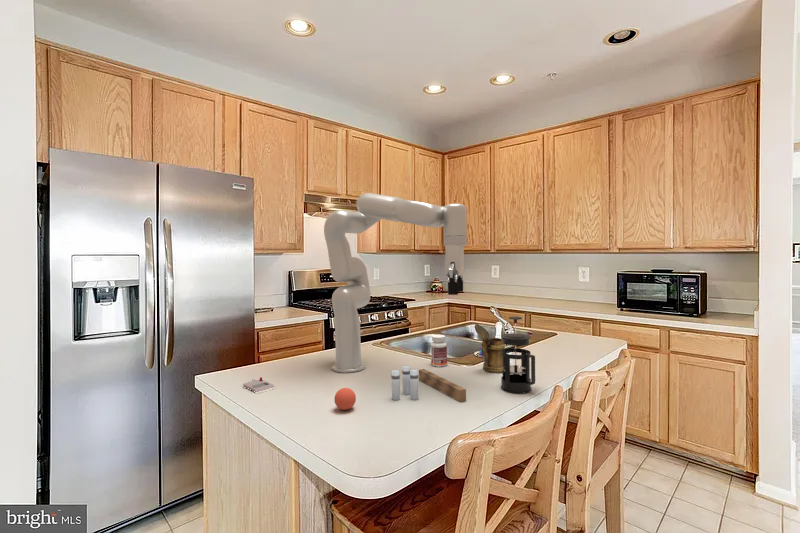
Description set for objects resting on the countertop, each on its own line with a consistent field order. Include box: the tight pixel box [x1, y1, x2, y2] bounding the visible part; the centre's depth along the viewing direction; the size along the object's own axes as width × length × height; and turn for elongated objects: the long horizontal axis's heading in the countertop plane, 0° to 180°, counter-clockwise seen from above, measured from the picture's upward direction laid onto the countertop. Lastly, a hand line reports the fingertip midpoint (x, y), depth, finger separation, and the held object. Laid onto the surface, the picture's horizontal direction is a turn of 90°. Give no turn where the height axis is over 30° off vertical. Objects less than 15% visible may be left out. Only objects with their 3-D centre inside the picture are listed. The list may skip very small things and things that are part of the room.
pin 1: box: [401, 364, 411, 396], centre depth 126 cm, size 2×2×8 cm
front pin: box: [390, 369, 401, 401], centre depth 122 cm, size 2×2×8 cm
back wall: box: [418, 368, 467, 403], centre depth 129 cm, size 24×2×4 cm, turn 27°
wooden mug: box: [474, 323, 506, 374], centre depth 149 cm, size 9×14×18 cm, turn 121°
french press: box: [500, 315, 536, 395], centre depth 128 cm, size 12×9×23 cm
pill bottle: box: [430, 334, 448, 368], centre depth 157 cm, size 6×6×11 cm
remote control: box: [242, 376, 276, 392], centre depth 136 cm, size 7×16×3 cm, turn 45°
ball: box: [333, 387, 357, 411], centre depth 115 cm, size 6×6×6 cm
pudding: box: [473, 343, 484, 358], centre depth 171 cm, size 12×12×5 cm
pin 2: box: [409, 368, 419, 401], centre depth 122 cm, size 2×2×8 cm
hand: (455, 293), depth 135 cm, fingers open, 9 cm apart
